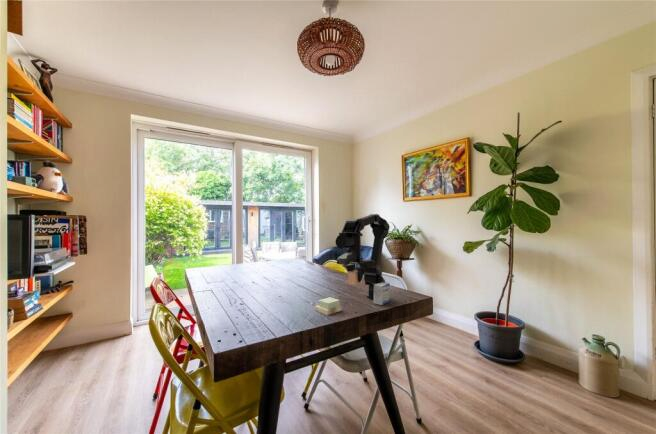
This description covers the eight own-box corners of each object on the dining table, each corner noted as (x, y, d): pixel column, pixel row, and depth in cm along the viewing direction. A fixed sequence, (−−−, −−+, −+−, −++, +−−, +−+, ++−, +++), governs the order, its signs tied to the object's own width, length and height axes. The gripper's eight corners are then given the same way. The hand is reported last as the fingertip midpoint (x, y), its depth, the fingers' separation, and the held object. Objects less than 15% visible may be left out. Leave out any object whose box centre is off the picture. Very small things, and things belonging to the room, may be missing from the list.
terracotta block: (355, 282, 119) (355, 270, 119) (362, 283, 116) (362, 271, 116) (348, 283, 116) (348, 271, 116) (355, 285, 113) (355, 272, 113)
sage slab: (329, 302, 117) (329, 297, 117) (339, 305, 112) (339, 300, 112) (318, 305, 113) (318, 300, 113) (328, 309, 108) (328, 303, 108)
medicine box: (381, 305, 116) (382, 286, 116) (373, 303, 119) (373, 284, 119) (389, 301, 122) (390, 283, 122) (381, 299, 125) (381, 281, 125)
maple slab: (329, 307, 118) (329, 302, 118) (341, 312, 111) (341, 306, 111) (315, 311, 112) (315, 306, 112) (327, 316, 106) (327, 310, 106)
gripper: (327, 246, 118) (328, 281, 118) (357, 249, 104) (358, 288, 104) (345, 245, 126) (345, 277, 125) (375, 247, 111) (376, 283, 111)
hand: (355, 281), depth 116 cm, fingers closed on terracotta block, 4 cm apart
